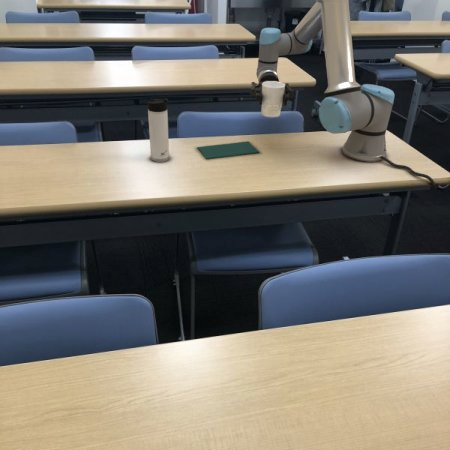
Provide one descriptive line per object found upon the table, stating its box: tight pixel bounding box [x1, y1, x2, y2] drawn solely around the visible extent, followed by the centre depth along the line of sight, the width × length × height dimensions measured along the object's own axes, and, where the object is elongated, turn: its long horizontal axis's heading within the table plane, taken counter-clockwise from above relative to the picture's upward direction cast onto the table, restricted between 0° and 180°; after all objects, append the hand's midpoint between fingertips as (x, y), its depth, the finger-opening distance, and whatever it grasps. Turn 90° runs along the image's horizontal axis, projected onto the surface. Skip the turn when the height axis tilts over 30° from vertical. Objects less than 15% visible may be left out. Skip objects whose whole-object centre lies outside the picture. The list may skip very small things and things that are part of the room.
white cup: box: [260, 81, 286, 118], centre depth 168 cm, size 8×8×10 cm
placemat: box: [197, 141, 260, 160], centre depth 174 cm, size 10×20×1 cm, turn 111°
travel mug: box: [147, 97, 170, 163], centre depth 161 cm, size 6×7×20 cm
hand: (273, 101), depth 164 cm, fingers closed on white cup, 8 cm apart
